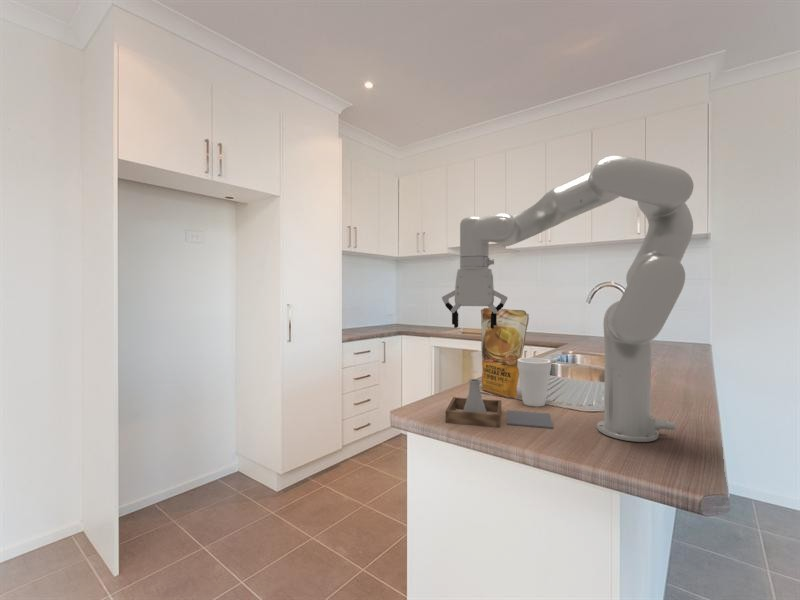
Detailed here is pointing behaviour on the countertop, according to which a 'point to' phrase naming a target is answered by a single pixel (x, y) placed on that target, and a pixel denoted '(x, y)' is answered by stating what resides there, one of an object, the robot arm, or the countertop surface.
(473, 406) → the flask
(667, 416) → the countertop surface
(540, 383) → the foam cup
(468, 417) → the walnut frame
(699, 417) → the countertop surface
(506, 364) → the pancake mix bag
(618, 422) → the robot arm
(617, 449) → the countertop surface
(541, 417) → the charcoal mat
